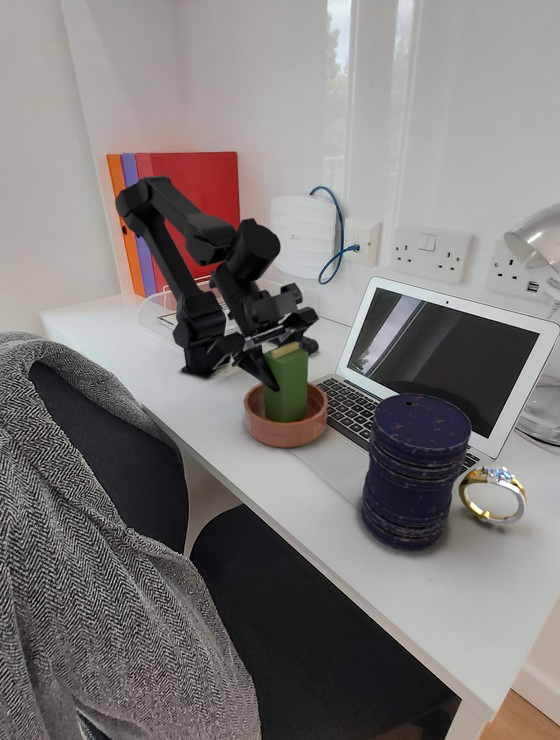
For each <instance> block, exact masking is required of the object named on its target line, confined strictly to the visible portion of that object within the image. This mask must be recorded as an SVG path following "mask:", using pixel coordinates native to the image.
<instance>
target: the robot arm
mask: <svg viewBox="0 0 560 740" xmlns="http://www.w3.org/2000/svg"><path fill="white" fill-rule="evenodd" d="M114 206H115V210H116V212H117V214H118V216H119V217H120V218H121V219H122V221H123V222H124V224H125V226H126V227H127V228H128V230H130V231H131V232H132V233H134V234H136V235H137V236H139V237H140V238H142V239H143V241H144V243H145V244H146V246H147V249H148V250H149V252H150V254H151V255H152V258H153V259H154V261H155V263H156V265H157V267H158V269H159V271H160V273H161V275H162V276H163V278H164V280H165V282H166V284H167V286H168V288H169V290H170V292H171V293H172V295H173V297H174V299H175V301H176V311H175V319H176V322H177V323H176V325H175V328H174V329H173V331H172V333H171V334H172V338H173V340H174V343H175V344H176V345H177V346H179V347H180V348H182V349H183V355H184V362H185V366H183V367H182V368H181V369H180V371H181V372H182V373H184V374H189V375H193V376H197V377H200V378H205V379H208V378H210V377H211V376H213V375H214V374H215V373H216V372H217V371H218V370H220V369H221V368H222V367H224V366H226V365H228V364H230V362H231V359H233V362H231V367H232V368H236V367H238V368H239V369H241V370H243V371H244V372H246V373H248V374H249V375H251V376H252V377H254V378H255V379H257V380H258V381H259V382H260V383H263V384H265V385H266V386H267V387H269V388H270V389H271V390H273V391H274V392H275V393H276V392H278V391H280V388H279V385H278V383H277V381H276V379H275V377H274V375H273V373H272V371H271V370H270V368H269V366H268V364H267V362H266V361H265V359H264V356H263V353H264V350H263V344H264V343H266V342H270V341H269V340H271V339H274V338H276V337H278V338H279V340H280V341H281V343H280V344H279V345H278V344H277V346H276V348H277V347H280V346H282V345H285V344H287V343H289V344H290V343H293V342H298V343H299V348H300V349H302V338H303V336H304V334H305V333H306V332H307V331H308V330H309V329H310V328H311V327H312V326H313V325H314V324H316V323H317V322H318V321H319V320H320V317H319V316H318V314H317V312H316V310H315V308H313V307H310V306H305V307H302V308H298V305H300V304H302V303H303V302H304V297H303V293H302V291H301V290H300V287H299V286H298V285H297V283H296V282H292V283H291V282H290V283H288V284H285V285H281V286H280V288H279V289H280V291H279V293H278V294H275V295H271V293H270V292H269V291H268V290H267V289H263V290H261V289H260V287H259V285H258V283H257V282H256V281H258V280H260V279H261V278H262V276H264V274H265V273H266V272H267V270H268V269H269V268H270V266H271V265H272V264H273V263H274V261H275V260H276V258H277V257H278V256H279V255H280V254H281V253H280V252H281V251H282V250H281V249H282V246H281V245H282V244H281V241H280V239H279V237H278V235H277V234H276V233H274V232H273V231H272V230H270V228H268V227H267V226H264V225H262V224H258V222H257V221H256V219H255V218H254V217H250V218H249V217H248V218H243V219H241V221H240V222H239V225H238V226H237V229H236V228H235V227H234V226H233V225H232V224H231V223H230V222H228V221H226V220H225V219H223V218H221V217H218V216H215V215H210V214H207V213H206V212H203V211H202V210H201V209H200V208H198V206H196V204H195V203H193V202H192V201H191V199H189V198H188V197H187V196H186V195H184V194H183V193H182V191H180V190H179V189H178V188H177V187H176V186H175V185H174V184H173V183H172V180H171V178H170V177H169V176H165V175H160V174H159V175H151V176H150V175H149V176H143V177H142V178H139V180H138V181H137V182H136V183H134V184H132V185H130V186H127V187H126V188H124V189H120V191H119V193H118V195H117V196H116V197H115V199H114ZM166 220H167V221H168V222H169V223H170V225H172V226H173V228H175V229H176V230H177V231H178V232H179V233H180V235H182V237H183V238H184V243H185V244H184V248H185V250H186V252H187V253H188V255H189V256H190V257H191V259H192V260H193V261H194V262H195V264H197V266H199V267H207V266H212V265H216V264H218V263H219V264H218V265H217V267H216V268H215V269H214V270H211V271H210V277H209V280H208V287H209V290H207V291H204V290H202V289H201V288H200V287H199V285H198V283H197V281H196V280H195V278H194V275H193V274H192V272H191V270H190V268H189V267H188V265H187V263H186V261H185V259H184V257H183V255H182V253H181V252H180V250H179V247H178V246H177V244H176V243H175V240H174V238H173V237H172V235H171V233H170V231H169V230H168V227H167V226H166ZM216 288H217V290H218V292H219V294H220V296H221V298H222V299H223V301H224V304H225V305H226V307H227V308H228V311H229V312H228V313H227V316H226V313H225V311H224V310H223V309H224V308H223V306H222V305H221V304H220V302H219V300H218V299H217V296H216V294H215V293H214V292H213V289H216ZM286 315H288V316H287V317H286ZM227 318H228V320H229V321H235V323H236V325H237V327H238V329H239V330H240V332H241V333H240V332H238V331H234V332H232V333H229V334H226V335H225V333H226V327H227ZM280 321H281V322H280ZM279 322H280V323H279ZM272 332H273V333H272ZM268 333H271V334H269V335H268ZM258 337H261V338H258Z"/></svg>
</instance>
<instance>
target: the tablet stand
mask: <svg viewBox="0 0 560 740" xmlns="http://www.w3.org/2000/svg"><path fill="white" fill-rule="evenodd" d="M272 333H273V332H272ZM269 334H271V333H268V335H269ZM258 338H261V337H258ZM258 338H257V339H258ZM268 342H269V343H273V344H276V345H277V346H278V345H279V344H280V343H281V341H280V340H279V338H278V337H276V338H274V339H271V340H269V341H268ZM319 349H320V344H319V343H318V341H317V340H316V339H314V338H311V337H308V336H305V335H303V338H302V350H304V351H306V352H308V357H310V356H312V355H313V354H315V353H316V352H318V351H319Z"/></svg>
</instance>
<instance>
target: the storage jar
mask: <svg viewBox="0 0 560 740" xmlns="http://www.w3.org/2000/svg"><path fill="white" fill-rule="evenodd" d="M472 431H473V426H472V422H471V420H470V419H469V417H468V416H467V415H466V414H465V412H463V411H462V410H461V409H460V408H458V407H457V406H456V405H454V404H453V403H451V402H449V401H446V400H444V399H441V398H438V397H435V396H431V395H427V394H422V393H400V394H394V395H391V396H388V397H386V398H383V399H381V401H379V403H378V404H376V406H375V407H374V411H373V416H372V423H371V429H370V432H369V443H368V447H367V448H368V450H367V451H368V458H369V462H368V463H369V464H368V470H367V471H366V474H365V477H364V484H363V486H362V495H361V497H362V498H361V501H362V502H361V508H360V516H361V520H362V523H363V526H364V527H365V529H366V530H367V532H368V533H369V534H370V535H371V536H372V537H373V538H374V539H376V540H377V541H378V542H380V543H382V544H383V545H385V546H387V547H388V548H392V549H394V550H398V551H402V552H420V551H424V550H427V549H429V548H432V547H433V546H434V545H436V544H437V542H439V541H440V539H441V537H442V534H443V530H444V527H445V525H446V523H447V521H448V518H449V515H450V510H451V505H452V501H453V492H452V491H453V488H454V484H455V482H456V481H457V480H458V478H459V477H460V474H461V473H462V470H463V466H464V463H465V459H466V456H467V452H468V445H469V441H470V438H471V435H472Z"/></svg>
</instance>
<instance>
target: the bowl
mask: <svg viewBox="0 0 560 740" xmlns="http://www.w3.org/2000/svg"><path fill="white" fill-rule="evenodd" d="M328 399H329V398H328V396H327V395H326V392H325V391H324V390H323V389H322V388H321V387H320V386H318V385H316V384H314V383H311V382H309V381H307V415H306V416H305V417H303V418H301V419H299V420H297V421H296V422H292V423H279V422H272V421H271V420H269V419H268V418H266V417H265V407H264V384H263V383H262V382H260V383H258V384H257V385H254V386H253V387H251V388H250V389H249V390H248V391H247V392H246V393H245V396H244V398H243V414H244V423H245V428H246V429H247V431H248V432H249V434H250V435H251V436H252V437H253V439H255V440H257V441H258V442H260V443H262V444H265V445H267V446H271V447H274V448H275V447H276V448H285V449H286V448H296V447H301V446H305V445H307V444H310V443H312V442H314V441H315V440H316V439H318V438H319V437H320V436H321V435H322V434H323V432H324V430H325V429H326V428H327V423H328V421H327V420H328V406H329V404H328V403H329V400H328Z"/></svg>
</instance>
